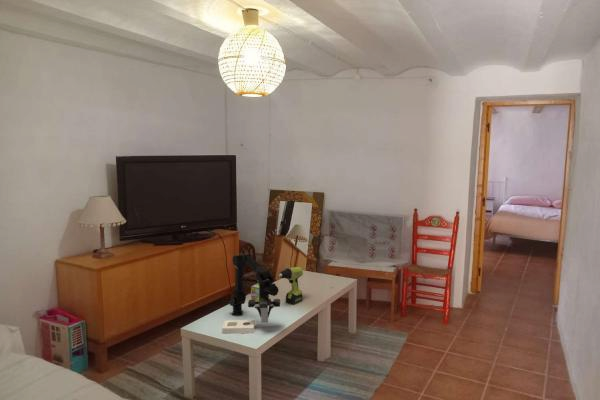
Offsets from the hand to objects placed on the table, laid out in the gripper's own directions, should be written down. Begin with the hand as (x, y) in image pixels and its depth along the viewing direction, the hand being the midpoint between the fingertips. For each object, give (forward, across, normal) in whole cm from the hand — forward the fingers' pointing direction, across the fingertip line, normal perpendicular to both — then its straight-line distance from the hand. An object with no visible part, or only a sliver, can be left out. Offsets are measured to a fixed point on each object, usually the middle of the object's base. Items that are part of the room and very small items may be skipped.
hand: (264, 317), depth 260 cm
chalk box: (+6, -6, +43) cm, 44 cm away
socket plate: (+6, -15, -2) cm, 16 cm away
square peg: (+3, 0, 0) cm, 3 cm away
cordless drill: (+6, +15, +38) cm, 41 cm away
